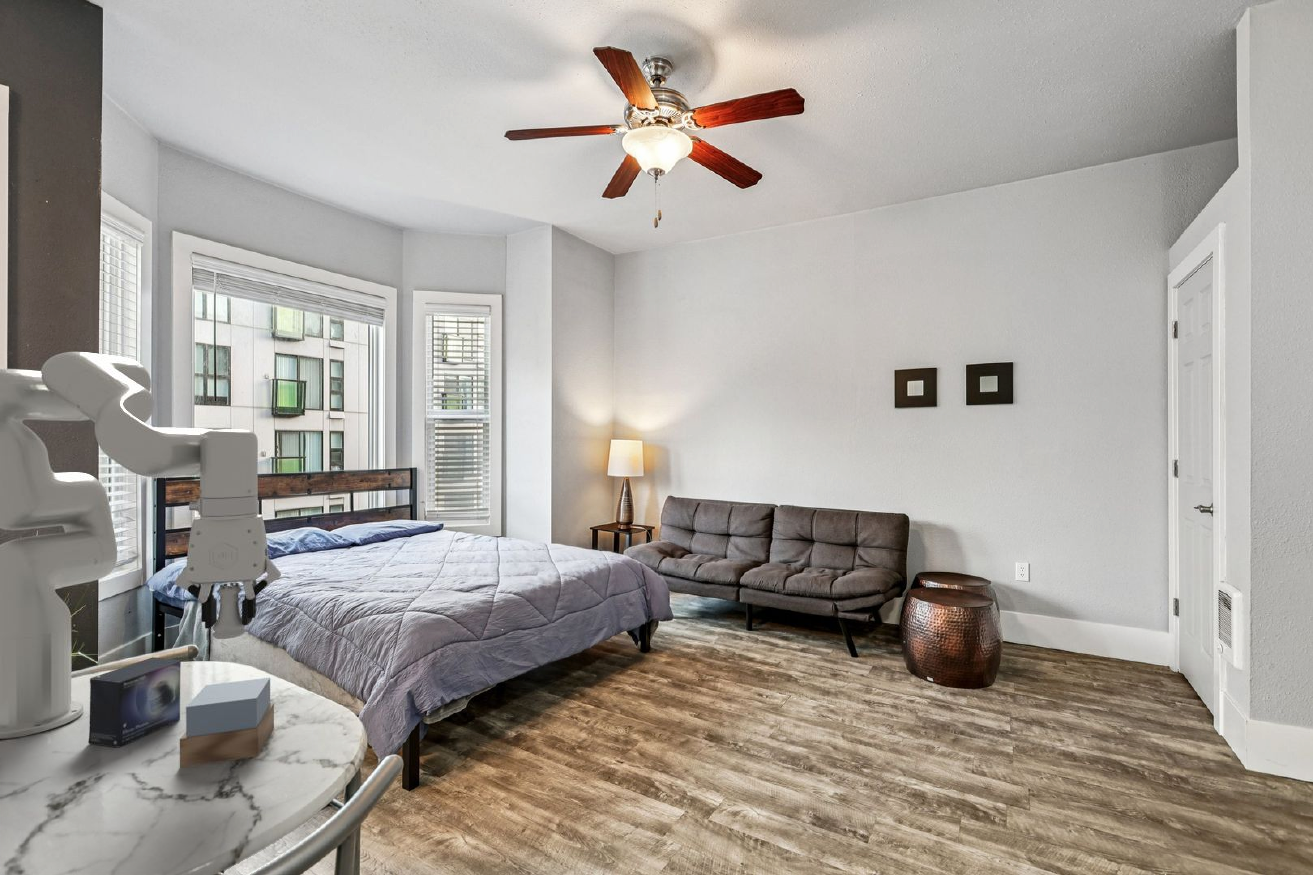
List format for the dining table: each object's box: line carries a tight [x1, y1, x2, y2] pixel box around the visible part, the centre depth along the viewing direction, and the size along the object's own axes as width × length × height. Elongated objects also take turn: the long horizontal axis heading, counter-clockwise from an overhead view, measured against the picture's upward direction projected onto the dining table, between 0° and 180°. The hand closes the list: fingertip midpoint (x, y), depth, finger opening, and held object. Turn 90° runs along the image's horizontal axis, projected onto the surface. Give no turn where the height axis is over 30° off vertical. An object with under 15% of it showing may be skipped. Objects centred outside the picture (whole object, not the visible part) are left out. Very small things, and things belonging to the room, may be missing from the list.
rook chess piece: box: [211, 582, 247, 640], centre depth 100 cm, size 4×4×8 cm
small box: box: [87, 656, 182, 748], centre depth 105 cm, size 11×6×10 cm, turn 168°
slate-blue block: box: [185, 677, 271, 738], centre depth 99 cm, size 9×9×4 cm
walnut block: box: [179, 702, 275, 768], centre depth 100 cm, size 10×10×4 cm
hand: (229, 623), depth 100 cm, fingers closed on rook chess piece, 4 cm apart
